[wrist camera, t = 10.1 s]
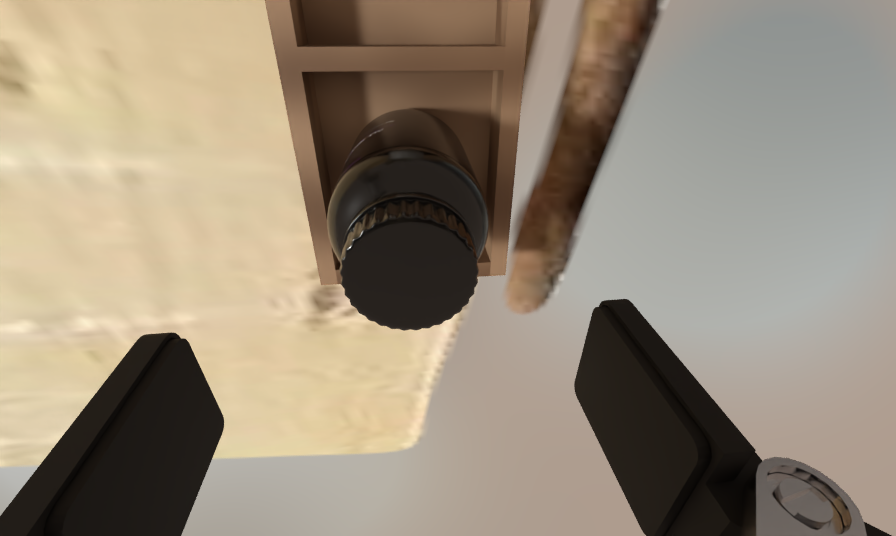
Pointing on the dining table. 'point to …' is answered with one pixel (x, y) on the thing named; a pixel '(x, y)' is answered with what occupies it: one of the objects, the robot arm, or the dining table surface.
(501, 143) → the caddy
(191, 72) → the dining table surface
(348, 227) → the supplement bottle
